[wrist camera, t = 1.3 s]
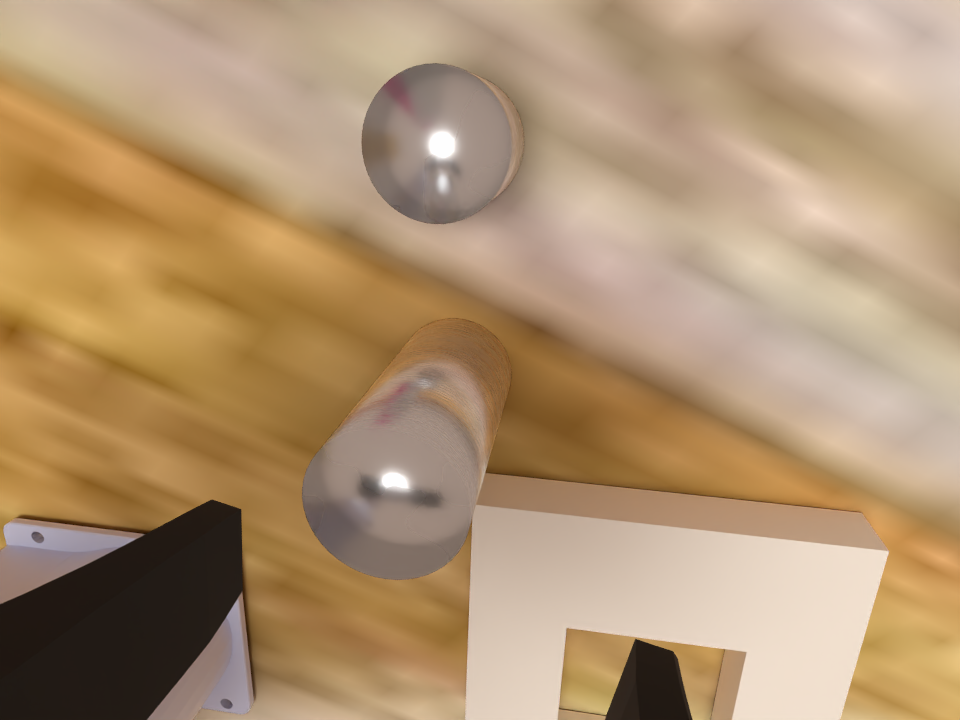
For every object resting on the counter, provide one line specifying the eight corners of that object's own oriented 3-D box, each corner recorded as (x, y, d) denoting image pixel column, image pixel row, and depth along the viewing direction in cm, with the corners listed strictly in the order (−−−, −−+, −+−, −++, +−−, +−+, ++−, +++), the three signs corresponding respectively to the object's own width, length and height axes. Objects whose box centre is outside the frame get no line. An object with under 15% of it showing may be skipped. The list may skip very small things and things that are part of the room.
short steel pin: (400, 203, 20) (363, 219, 16) (399, 72, 18) (359, 61, 15) (520, 210, 19) (507, 228, 16) (527, 76, 18) (515, 65, 15)
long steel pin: (401, 418, 22) (306, 568, 15) (400, 314, 21) (297, 419, 13) (508, 429, 22) (467, 590, 14) (514, 322, 20) (473, 437, 13)
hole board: (470, 775, 27) (461, 823, 25) (482, 472, 22) (472, 504, 20) (777, 826, 25) (792, 881, 24) (861, 512, 21) (888, 551, 19)
